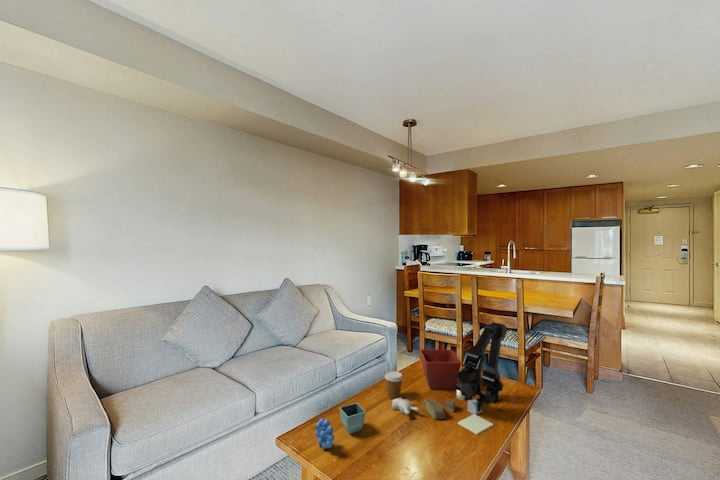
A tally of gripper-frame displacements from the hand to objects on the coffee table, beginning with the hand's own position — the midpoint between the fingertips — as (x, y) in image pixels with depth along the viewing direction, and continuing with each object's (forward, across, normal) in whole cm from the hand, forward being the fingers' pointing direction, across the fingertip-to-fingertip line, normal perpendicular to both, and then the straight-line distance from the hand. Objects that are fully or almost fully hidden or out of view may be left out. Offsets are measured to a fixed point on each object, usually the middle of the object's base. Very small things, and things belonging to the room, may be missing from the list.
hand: (474, 409), depth 157 cm
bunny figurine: (+1, -20, -28) cm, 34 cm away
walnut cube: (+1, -8, -8) cm, 11 cm away
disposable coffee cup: (+1, -33, -23) cm, 40 cm away
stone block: (+1, -10, -17) cm, 20 cm away
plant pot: (+1, -29, +8) cm, 30 cm away
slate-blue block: (+1, 0, 0) cm, 1 cm away
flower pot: (+1, -21, -57) cm, 61 cm away
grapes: (+1, -17, -72) cm, 74 cm away
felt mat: (+1, +7, -9) cm, 11 cm away
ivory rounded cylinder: (+1, -12, +5) cm, 13 cm away
